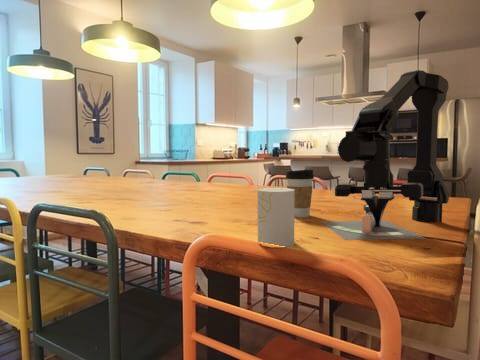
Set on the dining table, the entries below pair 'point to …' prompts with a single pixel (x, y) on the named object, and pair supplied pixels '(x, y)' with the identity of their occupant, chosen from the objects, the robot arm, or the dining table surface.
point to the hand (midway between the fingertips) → (378, 226)
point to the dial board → (385, 231)
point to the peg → (368, 220)
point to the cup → (276, 216)
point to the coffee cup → (301, 190)
